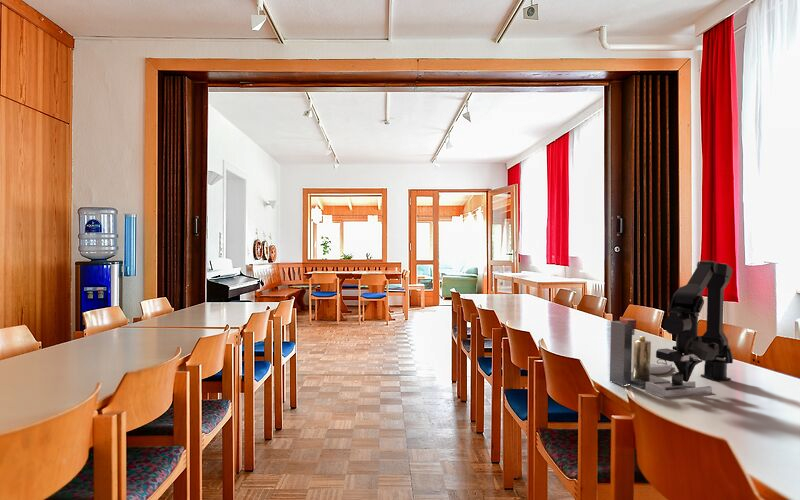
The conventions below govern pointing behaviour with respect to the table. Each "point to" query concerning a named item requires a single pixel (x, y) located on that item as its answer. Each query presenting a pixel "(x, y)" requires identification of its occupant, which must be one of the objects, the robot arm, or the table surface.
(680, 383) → the sliding block with knob
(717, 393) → the table surface
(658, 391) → the guide rail
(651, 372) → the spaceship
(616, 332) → the press bed
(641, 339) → the disc
